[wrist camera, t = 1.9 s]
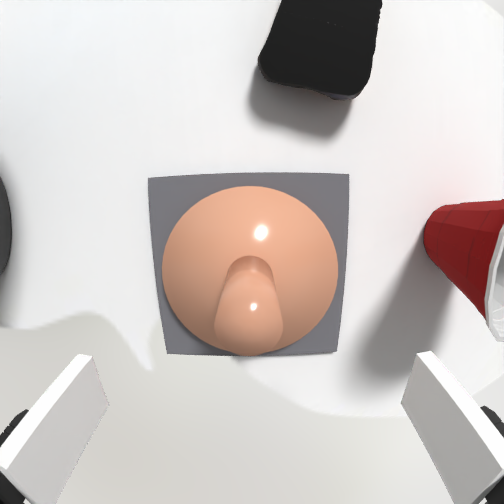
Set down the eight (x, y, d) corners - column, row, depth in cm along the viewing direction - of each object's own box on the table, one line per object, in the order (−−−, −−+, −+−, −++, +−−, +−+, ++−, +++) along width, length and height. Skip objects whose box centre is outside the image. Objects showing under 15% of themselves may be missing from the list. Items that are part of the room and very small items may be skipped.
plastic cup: (470, 288, 25) (543, 336, 14) (392, 286, 25) (466, 353, 13) (488, 189, 23) (574, 205, 11) (409, 168, 22) (506, 171, 11)
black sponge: (349, 115, 22) (364, 106, 18) (251, 83, 21) (251, 68, 18) (377, -12, 18) (390, -29, 14) (297, -40, 17) (302, -61, 14)
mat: (168, 350, 27) (167, 353, 26) (150, 177, 23) (148, 178, 22) (335, 348, 27) (336, 351, 26) (346, 174, 23) (349, 174, 22)
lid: (175, 345, 26) (147, 412, 17) (160, 189, 22) (107, 198, 13) (327, 343, 26) (355, 410, 17) (337, 186, 22) (387, 193, 13)
